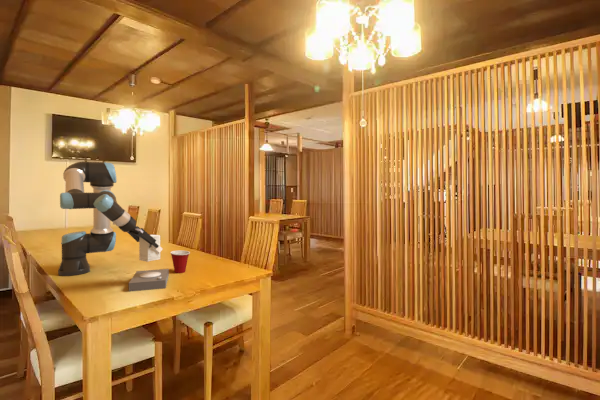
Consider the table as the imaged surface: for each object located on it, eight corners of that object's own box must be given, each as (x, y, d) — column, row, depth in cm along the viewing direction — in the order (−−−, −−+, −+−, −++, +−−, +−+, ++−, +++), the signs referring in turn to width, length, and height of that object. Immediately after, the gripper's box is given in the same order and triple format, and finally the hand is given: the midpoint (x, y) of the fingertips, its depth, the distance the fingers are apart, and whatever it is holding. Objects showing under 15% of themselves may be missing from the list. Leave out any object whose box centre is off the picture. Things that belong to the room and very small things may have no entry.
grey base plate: (136, 278, 175) (136, 269, 174) (168, 275, 180) (168, 267, 180) (128, 291, 152) (128, 280, 152) (165, 288, 157) (165, 278, 157)
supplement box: (147, 262, 160) (147, 236, 160) (138, 260, 164) (138, 235, 164) (160, 259, 166) (160, 235, 166) (152, 257, 170) (152, 234, 170)
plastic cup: (183, 275, 182) (183, 253, 182) (166, 273, 184) (166, 253, 184) (193, 270, 192) (193, 250, 192) (177, 269, 195) (177, 249, 194)
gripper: (108, 226, 158) (141, 253, 172) (129, 228, 146) (163, 258, 160) (119, 214, 162) (150, 242, 176) (141, 216, 151) (172, 246, 164)
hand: (156, 249), depth 168 cm, fingers closed on supplement box, 7 cm apart
